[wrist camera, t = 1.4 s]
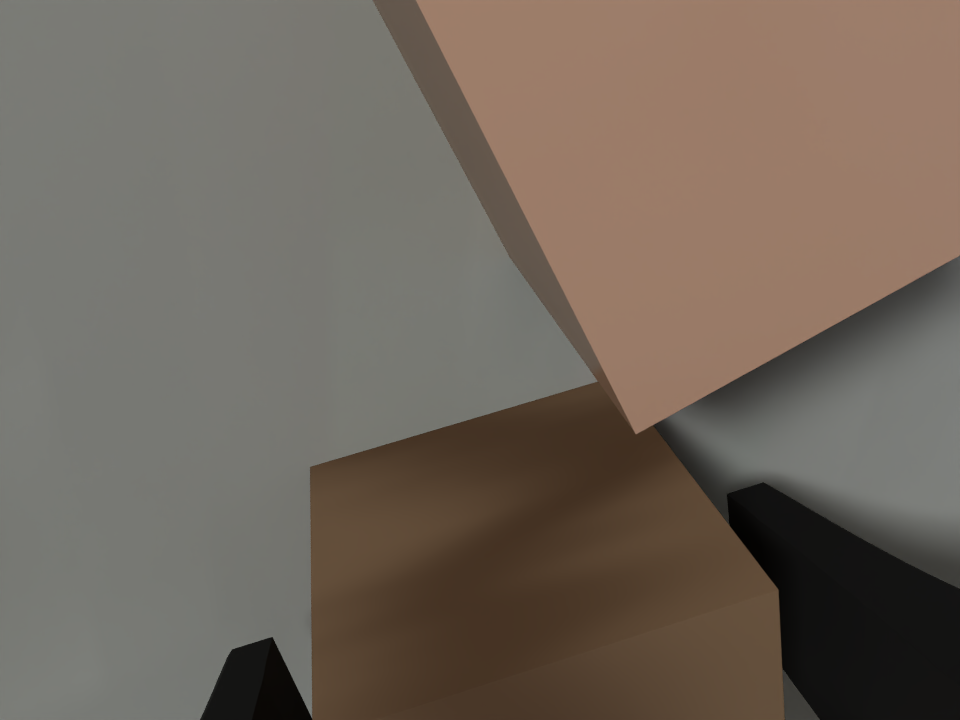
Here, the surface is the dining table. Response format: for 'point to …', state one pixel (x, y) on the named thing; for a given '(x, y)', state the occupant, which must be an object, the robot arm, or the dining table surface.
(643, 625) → the walnut block
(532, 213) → the terracotta block
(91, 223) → the dining table surface
